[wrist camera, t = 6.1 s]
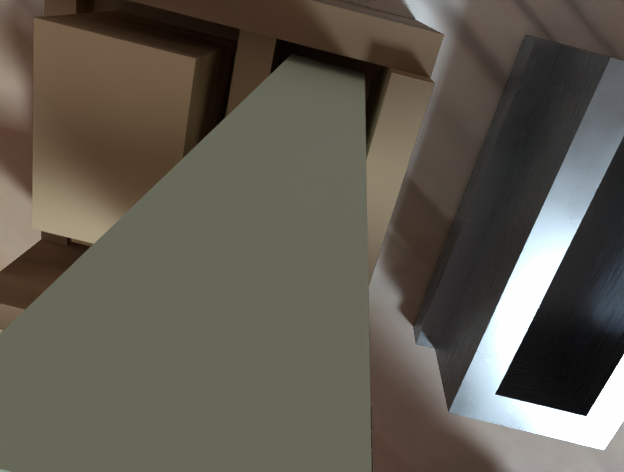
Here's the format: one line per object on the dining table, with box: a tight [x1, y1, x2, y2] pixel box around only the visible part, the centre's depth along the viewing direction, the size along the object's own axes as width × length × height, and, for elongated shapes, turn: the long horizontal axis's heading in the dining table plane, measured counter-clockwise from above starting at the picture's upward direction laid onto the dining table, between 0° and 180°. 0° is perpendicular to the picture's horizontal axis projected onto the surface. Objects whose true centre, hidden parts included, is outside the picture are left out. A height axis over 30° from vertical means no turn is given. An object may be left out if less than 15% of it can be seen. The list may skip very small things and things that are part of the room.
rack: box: [0, 0, 444, 330], centre depth 21 cm, size 14×14×9 cm
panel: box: [0, 54, 372, 472], centre depth 12 cm, size 10×2×16 cm, turn 166°
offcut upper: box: [32, 13, 219, 244], centre depth 19 cm, size 7×5×3 cm
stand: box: [413, 35, 624, 450], centre depth 23 cm, size 15×9×6 cm, turn 167°
